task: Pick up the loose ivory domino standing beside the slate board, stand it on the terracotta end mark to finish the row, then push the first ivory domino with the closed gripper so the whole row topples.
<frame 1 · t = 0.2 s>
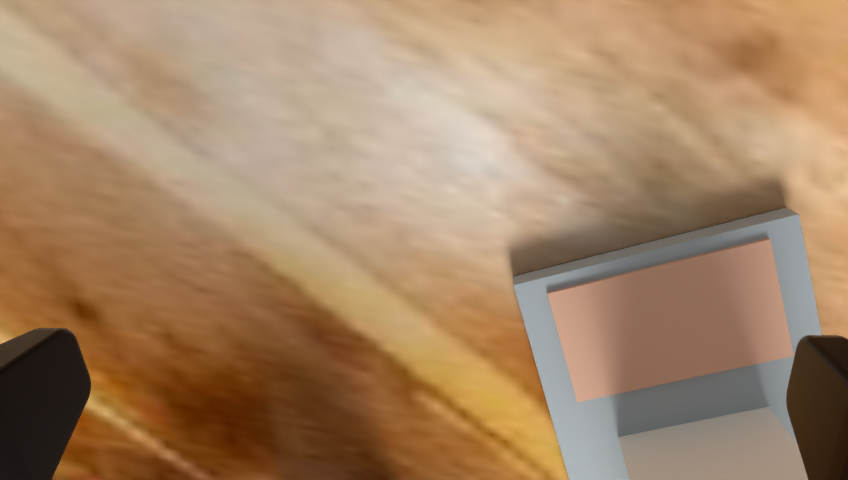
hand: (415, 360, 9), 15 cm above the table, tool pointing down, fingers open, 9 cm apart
domino 4: (696, 442, 24), point 1 cm above the table, touching domino board
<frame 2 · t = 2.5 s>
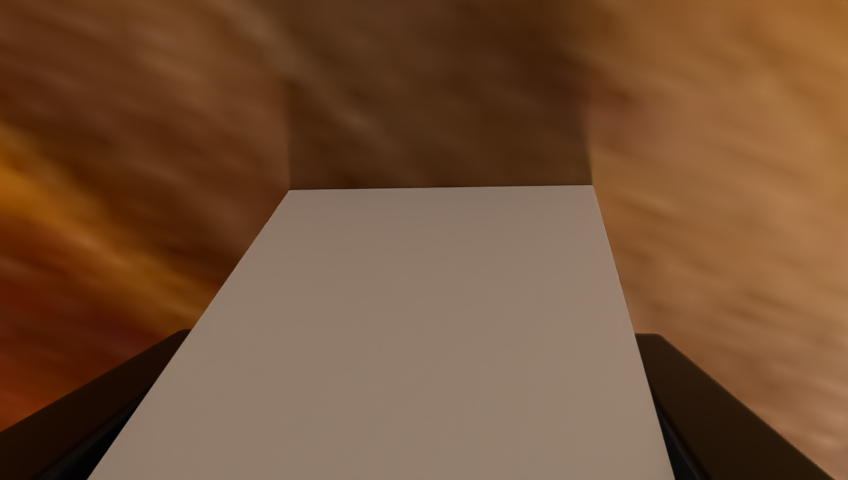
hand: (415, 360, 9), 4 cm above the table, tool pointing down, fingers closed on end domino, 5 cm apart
end domino: (439, 231, 12), on the table, touching gripper
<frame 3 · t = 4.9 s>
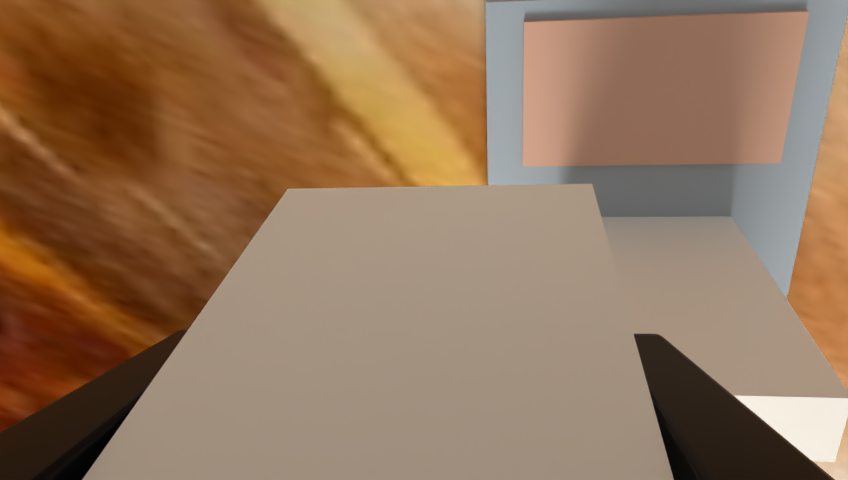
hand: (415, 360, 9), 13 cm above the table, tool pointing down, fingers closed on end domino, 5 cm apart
domino board: (623, 344, 24), on the table
end domino: (438, 230, 12), point 10 cm above the table, touching gripper
domino 4: (640, 240, 21), point 1 cm above the table, touching domino board
when the fingers open (5 cm above the table, at t = 7.6 s): end domino stays where it is, resting on domino board.
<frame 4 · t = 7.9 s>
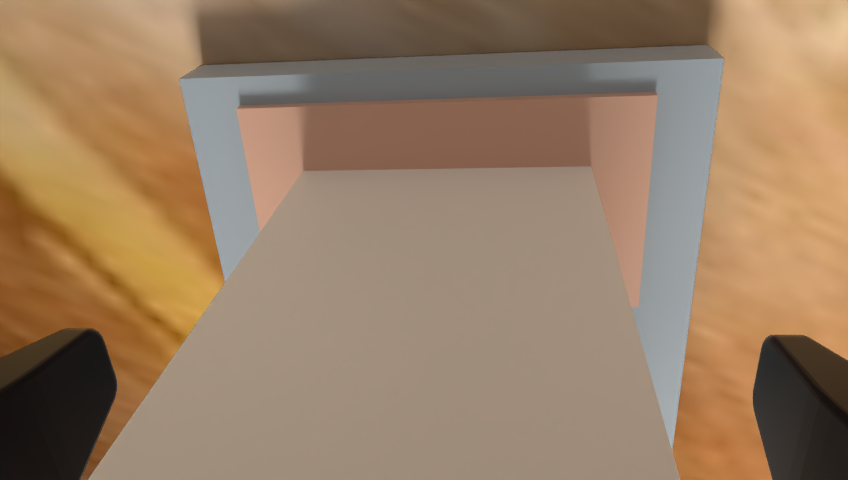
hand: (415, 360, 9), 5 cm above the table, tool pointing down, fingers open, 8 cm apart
end domino: (445, 210, 12), point 1 cm above the table, touching domino board
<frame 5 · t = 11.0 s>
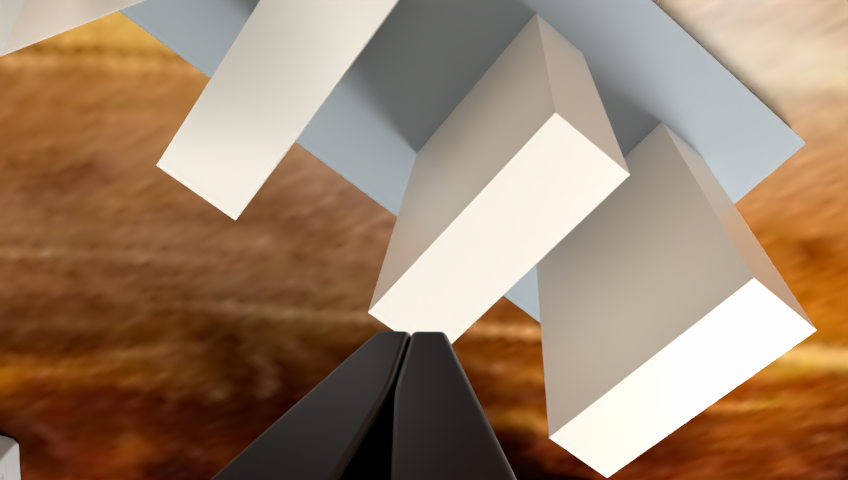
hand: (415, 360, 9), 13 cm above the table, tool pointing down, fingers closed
domino 2: (495, 105, 19), point 1 cm above the table, touching domino board
domino 1: (615, 202, 20), point 1 cm above the table, touching domino board
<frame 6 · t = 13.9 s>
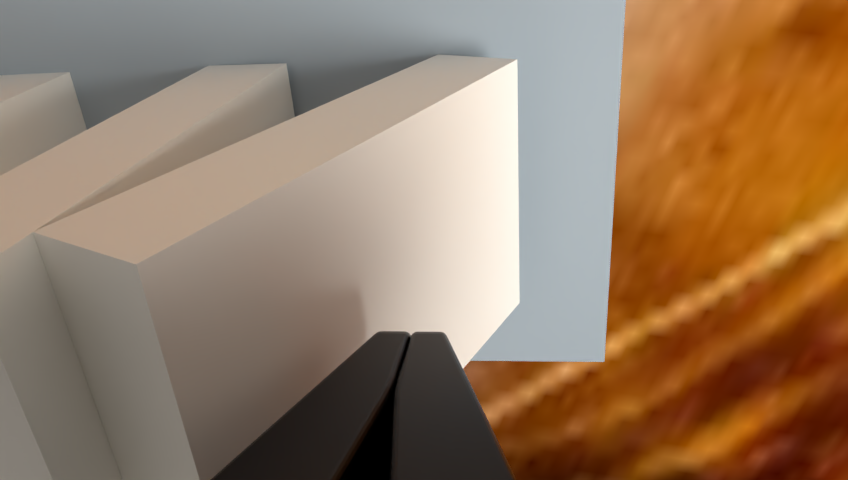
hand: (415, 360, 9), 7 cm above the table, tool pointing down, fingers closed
domino board: (94, 171, 16), on the table
domino 2: (269, 185, 14), point 1 cm above the table, touching domino board
domino 1: (481, 185, 14), point 1 cm above the table, tilted 25°, touching domino board
domino 3: (70, 188, 15), point 1 cm above the table, touching domino board
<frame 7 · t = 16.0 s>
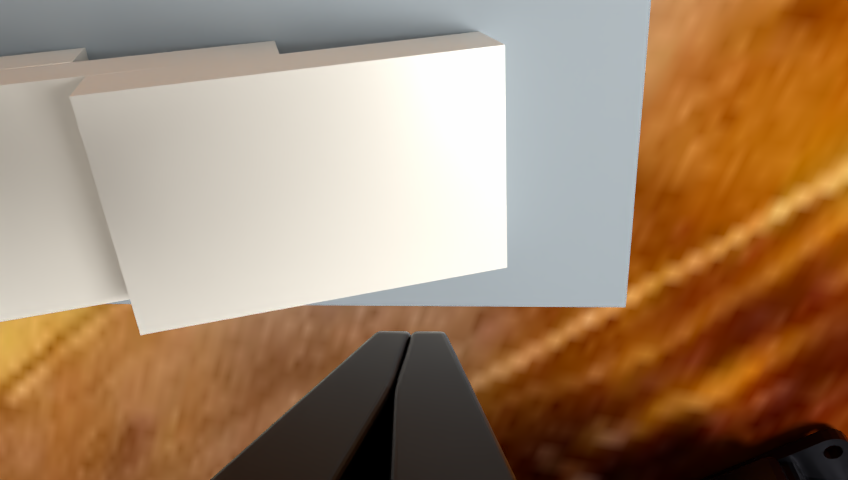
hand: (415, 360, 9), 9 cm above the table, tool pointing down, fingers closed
domino board: (175, 136, 18), on the table
domino 2: (293, 157, 16), point 2 cm above the table, tilted 69°, touching domino 1, domino 3, domino board
domino 1: (493, 152, 15), point 2 cm above the table, tilted 69°, touching domino 2, domino board
domino 3: (109, 160, 17), point 2 cm above the table, tilted 69°, touching domino 2, domino 4, domino board
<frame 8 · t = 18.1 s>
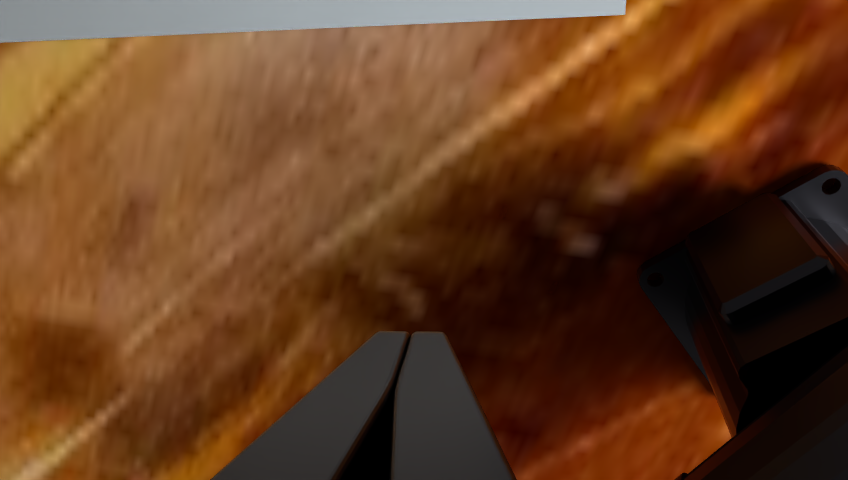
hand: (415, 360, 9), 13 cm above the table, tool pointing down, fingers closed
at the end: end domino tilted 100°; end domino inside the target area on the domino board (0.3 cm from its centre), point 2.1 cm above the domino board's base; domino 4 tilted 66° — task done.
